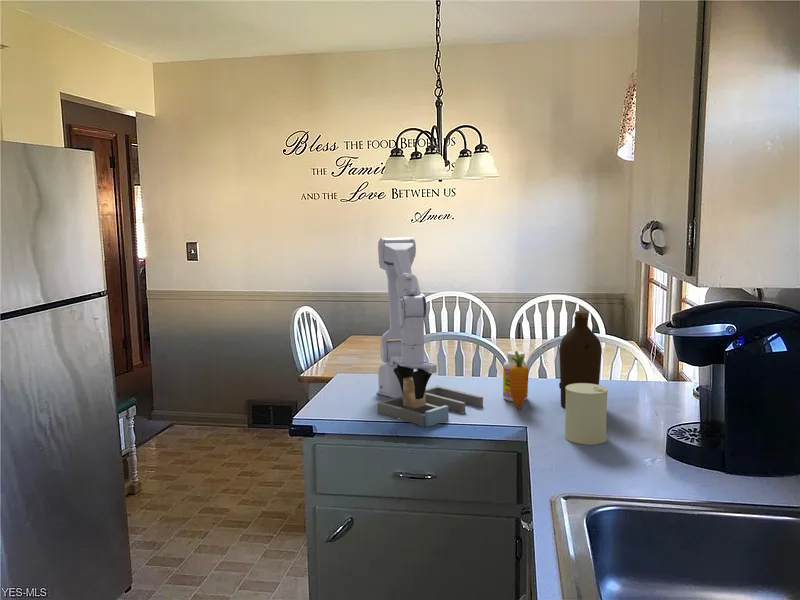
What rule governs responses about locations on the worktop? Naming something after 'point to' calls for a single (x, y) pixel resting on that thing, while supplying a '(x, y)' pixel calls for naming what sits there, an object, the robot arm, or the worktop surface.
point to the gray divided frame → (430, 406)
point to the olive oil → (579, 355)
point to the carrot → (518, 380)
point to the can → (586, 413)
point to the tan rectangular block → (411, 394)
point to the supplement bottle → (506, 374)
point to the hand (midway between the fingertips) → (413, 396)
